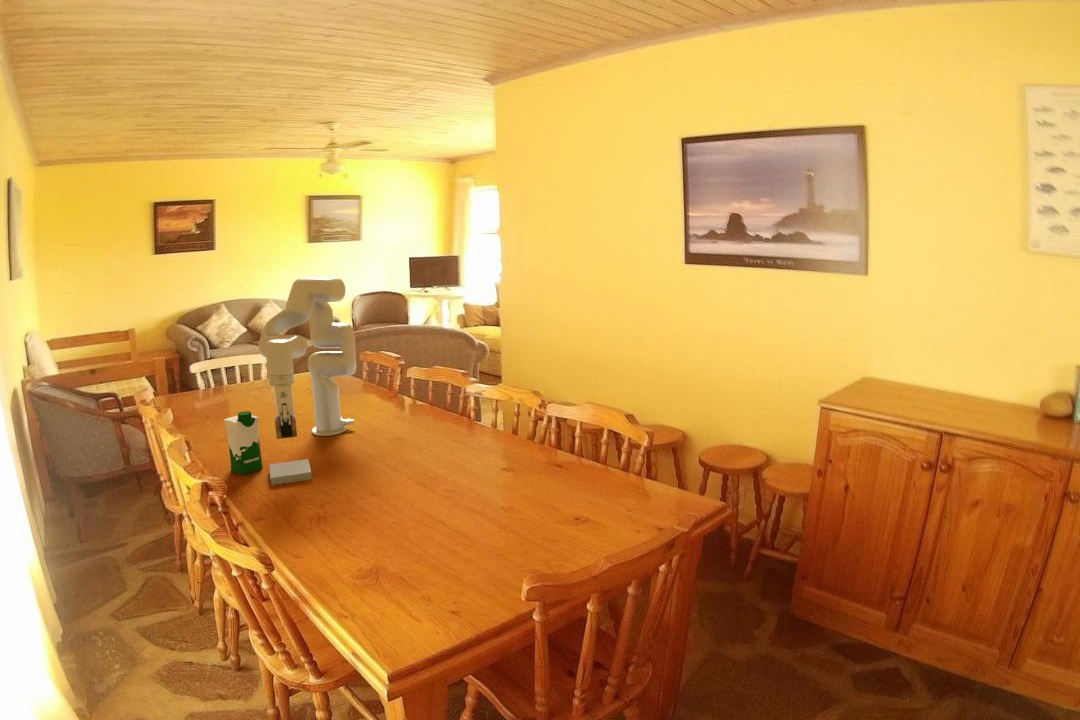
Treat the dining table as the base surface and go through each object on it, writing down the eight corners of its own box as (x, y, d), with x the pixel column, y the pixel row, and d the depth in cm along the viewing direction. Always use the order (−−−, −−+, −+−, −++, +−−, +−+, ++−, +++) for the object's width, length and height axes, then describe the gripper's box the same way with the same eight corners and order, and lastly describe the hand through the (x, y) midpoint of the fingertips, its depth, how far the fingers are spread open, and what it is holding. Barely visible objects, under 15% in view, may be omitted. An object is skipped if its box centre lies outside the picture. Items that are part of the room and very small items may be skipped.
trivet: (308, 466, 213) (308, 459, 212) (311, 479, 202) (311, 472, 202) (270, 471, 208) (269, 464, 208) (271, 485, 197) (270, 478, 197)
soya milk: (242, 477, 204) (235, 418, 199) (226, 471, 209) (219, 413, 204) (267, 468, 211) (261, 411, 206) (251, 462, 216) (245, 406, 211)
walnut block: (296, 430, 206) (294, 413, 204) (297, 436, 200) (295, 418, 199) (276, 433, 203) (274, 415, 202) (276, 439, 198) (274, 420, 197)
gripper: (295, 384, 192) (300, 440, 196) (292, 371, 207) (297, 424, 211) (268, 386, 189) (274, 443, 193) (267, 374, 204) (273, 427, 208)
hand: (286, 433), depth 202 cm, fingers closed on walnut block, 6 cm apart
